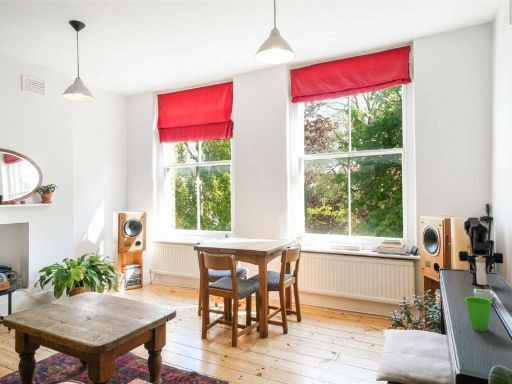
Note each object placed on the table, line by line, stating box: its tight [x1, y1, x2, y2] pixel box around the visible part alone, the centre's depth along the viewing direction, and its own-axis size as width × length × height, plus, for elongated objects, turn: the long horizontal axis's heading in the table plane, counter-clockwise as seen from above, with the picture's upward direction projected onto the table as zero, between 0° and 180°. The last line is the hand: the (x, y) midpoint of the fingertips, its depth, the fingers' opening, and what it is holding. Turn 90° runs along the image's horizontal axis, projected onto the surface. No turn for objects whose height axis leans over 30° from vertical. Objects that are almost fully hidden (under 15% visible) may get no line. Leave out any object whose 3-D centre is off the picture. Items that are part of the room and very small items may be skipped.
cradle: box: [473, 288, 494, 302], centre depth 165 cm, size 8×8×3 cm
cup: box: [464, 296, 493, 332], centre depth 129 cm, size 9×9×11 cm
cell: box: [476, 256, 488, 286], centre depth 166 cm, size 4×4×14 cm
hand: (481, 271), depth 164 cm, fingers closed on cell, 4 cm apart
